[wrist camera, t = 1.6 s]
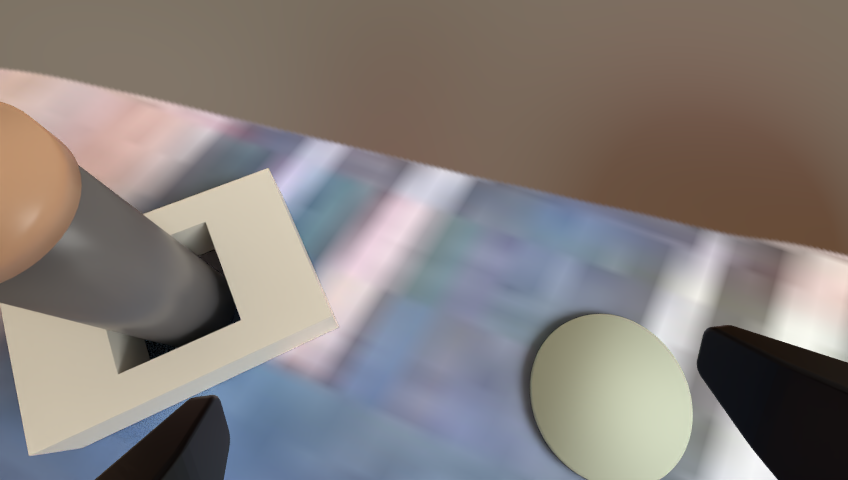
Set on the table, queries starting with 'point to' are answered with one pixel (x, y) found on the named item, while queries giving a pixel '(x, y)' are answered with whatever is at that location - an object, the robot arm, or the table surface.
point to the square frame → (187, 365)
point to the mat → (611, 399)
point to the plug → (94, 248)
